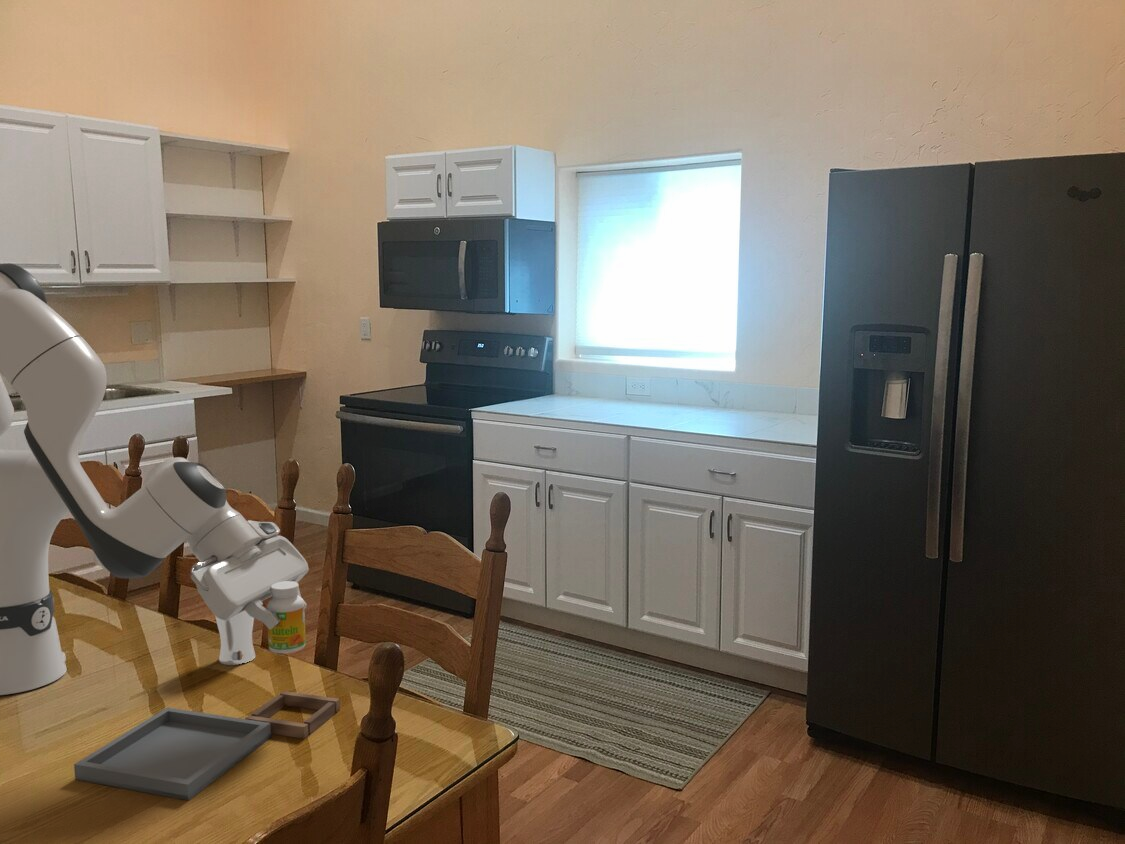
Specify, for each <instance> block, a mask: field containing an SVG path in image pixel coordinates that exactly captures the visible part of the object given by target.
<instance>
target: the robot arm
mask: <svg viewBox="0 0 1125 844" xmlns="http://www.w3.org/2000/svg"><path fill="white" fill-rule="evenodd" d="M2 376H3V377H4V378H5V380H6V381H7V382H8V383H9V384H10V385H11V386H12V388H13V389H15V391H16V392H17V393H18V395H19V396H20V398H21V400H22V402H23V405H24V407H25V412H26V416H27V422H26V425H25V428H24V430H23V434H24V436H25V440H26V443H27V445H28V447H29V449H2V448H0V696H4V695H5V696H6V695H10V694H18V693H22V692H27V691H31V690H35V689H38V688H40V687H43V686H46V685H49V684H51V683H54V682H55V681H57V680H59V679H60V678H62V677H63V676H64V675H65V674H66V672H67V670H68V669H67V665H66V663H65V661H66V660H67V656H66V653H65V652H64V651H62V647H61V642H60V636H59V631H58V627H57V622H56V618H55V617H54V612H55V605H54V603H55V598H54V596H53V595H54V594H53V591H52V590H51V589H50V581H49V580H50V579H49V578H50V577H49V576H50V575H49V549H50V543H51V540H52V538H53V537H52V536H53V534H54V532H55V530H56V528H57V526H59V523H60V522H61V520H62V519H64V518H65V516H66V515H67V514H68V513H70V514H71V516H72V517H73V519H74V520H75V522H76V523H77V525H78V526H79V528H80V530H81V532H82V534H83V535H84V537H85V539H86V541H87V542H88V544H89V546H90V548H91V549H92V552H93V554H94V556H95V558H96V559H97V561H98V563H99V564H100V565H101V566H102V567H103V568H104V569H105V570H106V571H107V572H109V573H110V574H111V575H112V576H114V577H115V578H118V579H138V578H144V577H148V576H150V574H152V573H153V571H154V570H155V569H157V567H159V565H161V563H162V562H164V561H165V559H166V558H167V556H170V554H171V553H173V552H174V551H175V550H176V549H177V548H178V547H180V546H181V545H182V544H183V543H185V541H186V543H187V544H188V546H189V547H188V548H189V549H190V551H191V553H192V554H193V555H194V556H195V557H196V559H197V560H198V562H195V563H194V564H193V565H191V569H190V575H189V576H190V579H191V580H192V581H193V582H194V584H195V586H196V589H197V591H198V594H200V596H201V598H202V599H203V601H204V603H205V604H206V605H207V607H208V608H209V610H211V612H212V613H213V615H214V617H215V616H216V617H218V618H220V619H222V620H228V619H229V618H231V617H233V616H235V615H237V614H239V613H241V612H243V611H246V612H247V613H248V614H249V616H251V617H253V618H254V620H255V619H256V620H258V621H259V622H262V623H263V624H264V625H265V626H266V627H267V630H268V629H273V628H274V627H276V626H277V625H278V624H279V623H280V622H281V621H282V619H281V617H280V616H278V614H277V613H276V611H274V612H271V611H269V610H267V607H264V606H263V605H264V601H265V600H267V599H269V598H271V597H272V596H271V586H272V585H273V584H275V583H278V582H283V581H293V582H297V583H299V582H300V581H301V580H302V579H303V578H304V577H305V576H306V574H307V573H308V572H309V564H308V562H307V560H306V559H305V557H304V556H303V555H302V554H301V553H300V552H299V550H298V549H297V548H296V547H295V546H294V545H293V543H292V542H291V541H289V539H288V538H286V537H284V536H282V535H279V534H280V532H281V529H280V528H279V526H278V525H277V524H276V523H275V522H272V521H256V520H250V519H249V520H246V518H245V517H244V515H242V514H241V513H240V512H239V511H238V510H236V509H235V508H233V507H231V505H230V504H229V502H228V500H227V489H226V488H225V487H224V485H222V484H221V482H220V481H219V480H218V479H217V478H216V477H215V475H214V474H213V473H212V472H211V471H210V469H209V468H208V467H207V466H205V464H202V463H200V462H192V461H190V460H188V459H187V458H185V457H182V456H177V457H176V456H175V457H171V458H168V459H166V460H164V461H163V462H160V463H158V464H157V465H156V466H154V467H153V468H152V469H151V470H150V471H149V473H148V474H147V475H146V477H145V478H144V482H143V486H142V487H140V488H139V489H138V490H137V491H135V493H133V494H132V495H131V496H130V497H129V498H127V499H126V500H124V501H123V502H122V503H121V504H119V505H118V506H116V507H113V508H109V507H108V505H107V504H106V502H105V500H104V499H103V497H102V496H101V494H100V493H99V491H98V490H97V488H96V487H95V485H94V483H93V482H92V480H91V479H90V477H89V476H88V474H87V473H86V471H85V470H84V468H83V466H82V465H81V462H80V457H79V450H80V449H79V448H80V445H81V441H82V438H83V437H84V434H85V432H86V430H87V428H88V427H89V425H90V423H91V422H92V420H93V418H94V417H95V415H96V413H97V412H98V410H99V409H100V406H101V404H102V403H103V399H104V397H105V394H106V390H107V382H108V376H107V370H106V366H105V364H104V363H103V362H102V360H101V358H100V357H99V355H98V354H97V353H96V352H95V350H94V349H93V348H92V347H91V345H90V344H89V343H88V342H87V341H86V340H85V338H83V336H82V335H81V334H80V332H78V331H77V330H76V329H75V328H74V327H73V326H72V325H71V324H70V323H69V322H68V321H67V320H66V319H65V318H64V317H62V316H61V315H60V314H59V313H57V312H56V311H55V309H53V308H52V307H51V306H50V305H48V299H47V297H46V294H45V291H44V289H43V287H42V285H41V284H40V283H39V281H38V280H37V279H36V277H34V276H33V274H31V272H29V271H27V270H26V269H24V268H23V267H22V266H20V265H18V264H14V263H0V437H1V436H3V434H4V433H6V431H8V429H9V428H10V426H11V425H12V422H13V420H14V416H15V407H14V406H13V402H12V400H11V398H10V395H9V392H8V390H7V387H6V385H5V383H4V380H3V377H2ZM298 596H300V597H301V598H302V595H301V592H300V590H299V594H298ZM307 607H308V604H307V602H306V601H305V600H304V610H305V609H306V608H307ZM216 617H215V618H216Z"/></svg>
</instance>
